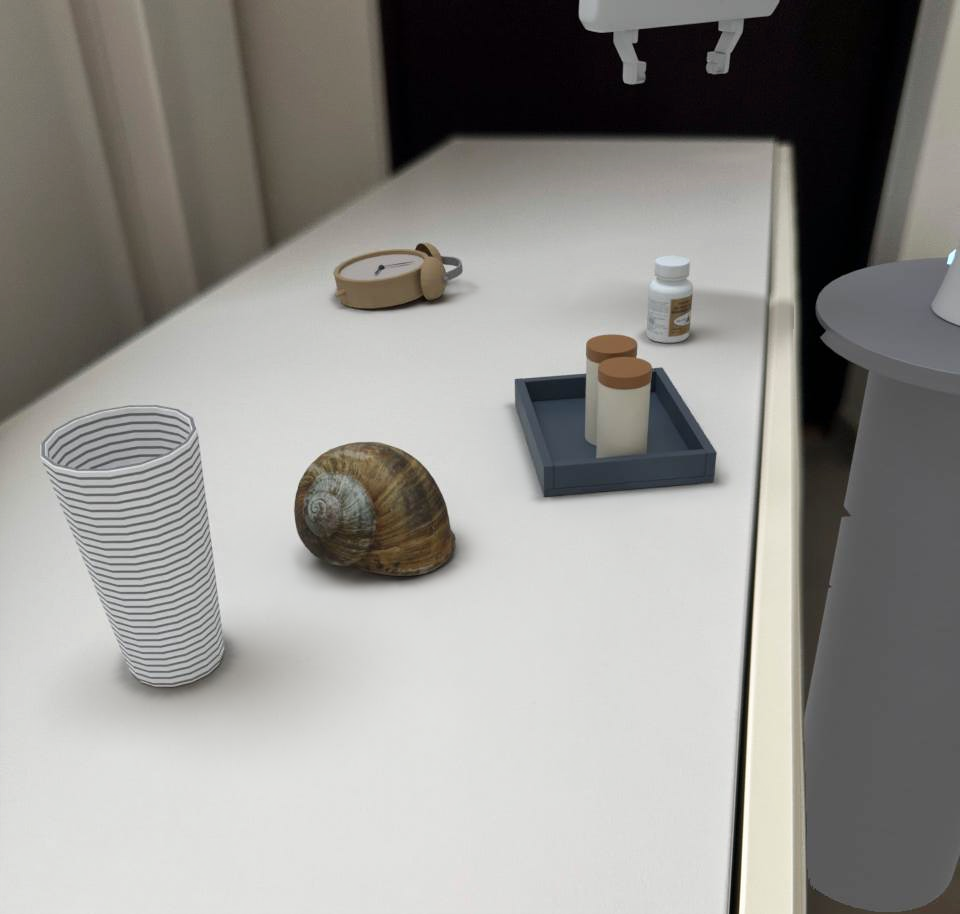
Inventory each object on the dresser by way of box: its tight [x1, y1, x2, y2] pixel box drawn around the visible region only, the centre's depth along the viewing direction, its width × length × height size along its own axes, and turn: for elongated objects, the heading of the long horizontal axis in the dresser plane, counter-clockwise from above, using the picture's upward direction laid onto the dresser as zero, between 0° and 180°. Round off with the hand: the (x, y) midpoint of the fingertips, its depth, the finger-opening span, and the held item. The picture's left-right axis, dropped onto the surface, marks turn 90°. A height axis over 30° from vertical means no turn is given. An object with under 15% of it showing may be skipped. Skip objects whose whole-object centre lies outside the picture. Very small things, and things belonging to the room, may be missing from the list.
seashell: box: [293, 441, 456, 577], centre depth 74 cm, size 11×9×8 cm
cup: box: [39, 404, 226, 688], centre depth 63 cm, size 8×8×16 cm
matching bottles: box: [585, 333, 653, 458], centre depth 85 cm, size 4×9×8 cm, turn 6°
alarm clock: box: [332, 242, 464, 309], centre depth 122 cm, size 11×5×15 cm
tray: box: [514, 366, 718, 497], centre depth 89 cm, size 14×18×3 cm
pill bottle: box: [646, 255, 694, 344], centre depth 107 cm, size 4×4×8 cm
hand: (676, 78), depth 102 cm, fingers open, 8 cm apart
